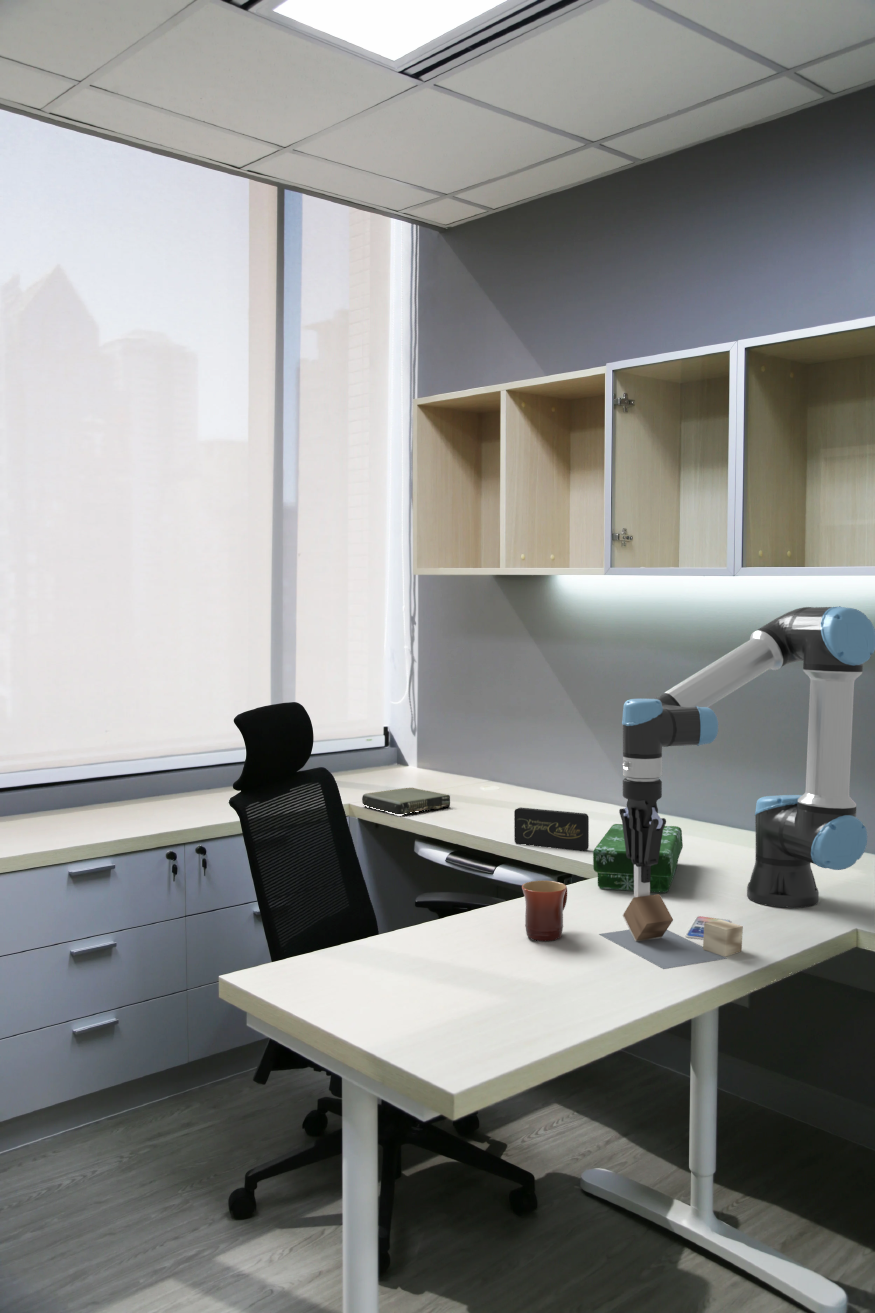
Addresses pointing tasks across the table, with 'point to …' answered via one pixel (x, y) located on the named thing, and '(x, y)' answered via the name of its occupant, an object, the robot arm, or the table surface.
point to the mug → (544, 909)
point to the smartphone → (700, 927)
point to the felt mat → (664, 949)
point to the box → (619, 868)
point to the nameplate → (551, 829)
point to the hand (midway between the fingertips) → (641, 897)
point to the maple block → (722, 937)
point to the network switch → (406, 800)
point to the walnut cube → (647, 917)
